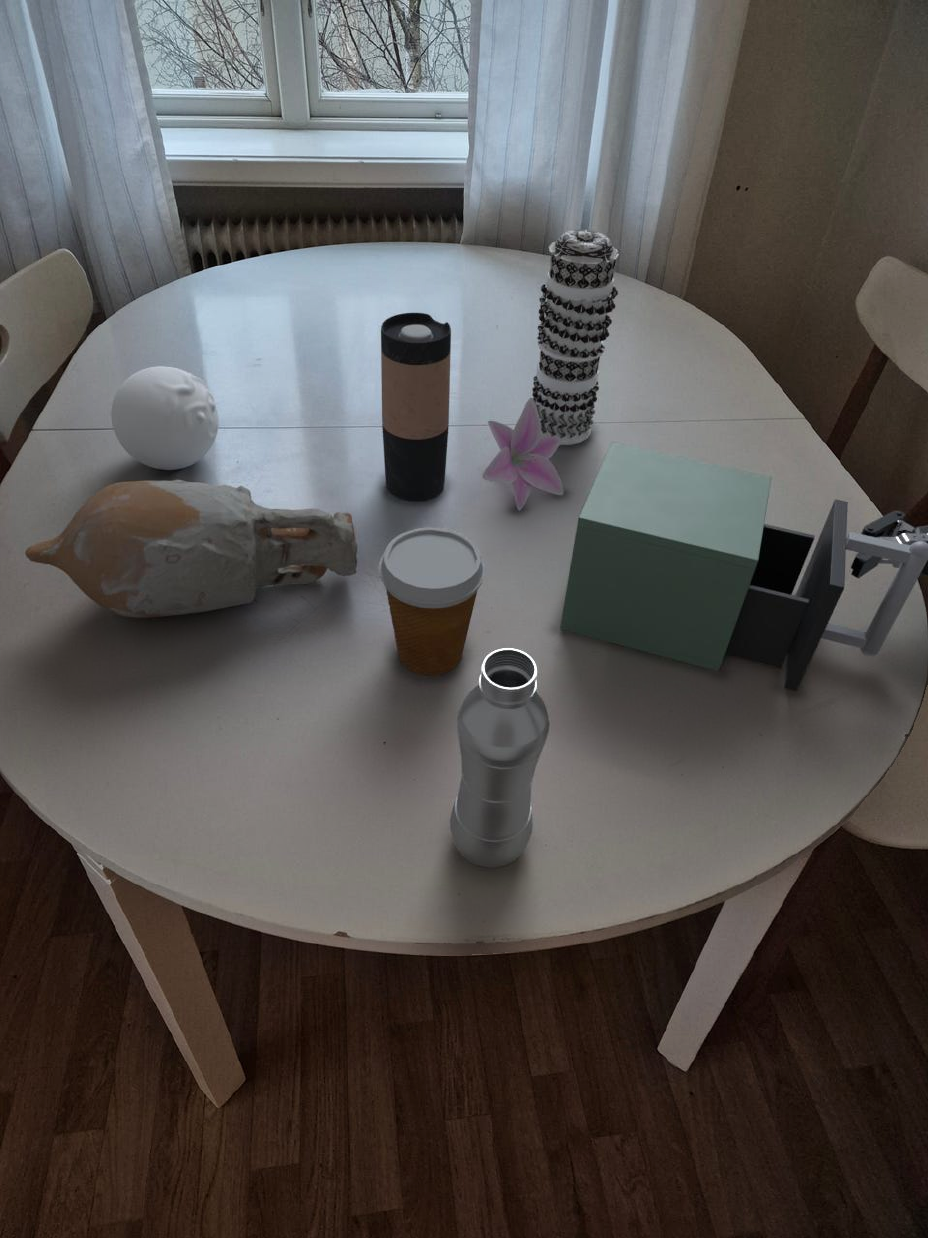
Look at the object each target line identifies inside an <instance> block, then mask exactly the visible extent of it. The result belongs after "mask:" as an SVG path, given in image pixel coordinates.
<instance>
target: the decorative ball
mask: <svg viewBox="0 0 928 1238" xmlns="http://www.w3.org/2000/svg"><path fill="white" fill-rule="evenodd" d="M110 417H111V424H112V425H111V426H112V428H113V432H114V434H115V437H116V438H117V441H118V442H119V444H120V446H121V447H122V448H123V449H124V451H125V452H126V453H127V454H128V455H129V456H131V458H133V459H134V460H136V461H137V462H139V463H141V464H142V465H145V466H147V467H149V468H153V469H157V470H163V471H174V470H180V469H185V468H187V467H190V466H192V465H194V464H196V463H197V462H199V461H200V460H201V459H203V458H204V457H205V456H206V455H207V454H208V452H209V451H210V450H211V449H212V447H213V445H214V443H215V441H216V438H217V435H218V430H219V424H220V423H219V421H220V420H219V414H218V409H217V405H216V402H215V399H214V396H213V395H212V393H211V392H210V391H209V390H208V387H207V385H206V383H205V382H204V380H203V379H201V378H200V377H198V376H195V375H194V374H193V373H190V372H189V371H186V370H183V369H181V368H179V367H178V368H177V367H173V366H164V365H159V366H150V367H146V368H143V369H140V370H138V371H136V372H134V373H133V374H131V375H129V376H128V377H127V378H126V379H125V380H124V381H123V382H122V383H121V385H120V386H119V387H118V389H117V390H116V393H115V395H114V397H113V399H112V404H111V413H110Z"/></svg>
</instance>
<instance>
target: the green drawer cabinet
mask: <svg viewBox="0 0 928 1238" xmlns="http://www.w3.org/2000/svg"><path fill="white" fill-rule="evenodd" d="M771 484H772V476H770V475H765V474H761V473H755V472H751V471H747V470H743V469H738V468H733V467H729V466H725V465H719V464H715V463H711V462H706V461H701V460H697V459H692V458H688V457H682V456H678V455H674V454H669V453H665V452H660V451H656V450H652V449H647V448H641V447H637V446H634V445H629V444H623V443H619V442H614V441H611V442H610V444H609V447H608V449H607V451H606V454H605V456H604V458H603V460H602V462H601V465H600V468H599V469H598V472H597V474H596V476H595V479H594V480H593V483H592V486H591V488H590V490H589V493H588V495H587V498H586V500H585V502H584V505H583V507H582V509H581V511H580V514H579V516H578V519H577V526H576V532H575V535H574V536H575V538H574V543H573V549H572V553H571V554H572V555H571V561H570V566H569V572H568V579H567V585H566V591H565V596H564V602H563V609H562V614H561V620H560V621H561V622H560V628H559V629H560V630H563V631H566V632H570V633H573V634H578V635H582V636H584V637H589V638H593V639H596V640H599V641H604V642H606V643H607V642H608V643H611V644H615V645H619V646H623V647H626V648H628V649H629V648H630V649H633V650H637V651H641V652H644V653H648V654H652V655H655V656H659V657H662V658H667V659H671V660H674V661H678V662H681V663H685V664H689V665H693V666H696V667H700V668H703V669H707V670H712V671H715V672H719V671H720V668H721V665H722V664H723V660H724V658H725V655H726V654H725V652H726V649H727V647H728V644H729V641H730V638H731V635H732V633H733V630H734V627H735V624H736V621H737V619H738V616H739V613H740V610H741V608H742V605H743V602H744V599H745V596H746V594H747V591H748V588H749V585H750V582H751V580H752V577H753V574H754V571H755V568H756V566H757V563H758V559H759V553H760V547H761V540H762V534H763V528H764V524H765V521H766V515H767V509H768V502H769V498H770V497H769V496H770V490H771Z"/></svg>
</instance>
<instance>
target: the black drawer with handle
mask: <svg viewBox="0 0 928 1238" xmlns="http://www.w3.org/2000/svg"><path fill="white" fill-rule="evenodd" d="M848 503H849V502H848V501H845V500H840V499H834V501H833V503H832V505H831V508H830V510H829V513H828V515H827V518H826V520H825V522H824V525H823V526H822V529H821V532H820V535H819V537H818V540H817V542H816V543H815V547H814V548H813V549H814V550H813V552H812V554H811V557H810V559H809V561H808V565H807V566H806V569H805V571H804V574H803V576H802V578H801V581H800V583H799V586H798V588H797V590H796V592H795V595H793V592H794V590H795V588H796V585H797V583H798V580H799V577H800V575H801V573H802V570H803V568H804V565H805V562H806V560H807V558H808V555H809V553H810V550H811V548H812V545H813V544H814V540H815V535H814V534H811V533H806V532H802V531H798V530H793V529H789V528H784V527H781V526H775V525H771V524H768V523H764V528H763V534H762V540H761V547H760V553H759V559H758V563H757V566H756V568H755V571H754V574H753V577H752V580H751V582H750V585H749V588H748V591H747V594H746V596H745V599H744V602H743V605H742V608H741V610H740V613H739V616H738V619H737V621H736V624H735V627H734V630H733V633H732V635H731V638H730V641H729V644H728V647H727V649H726V652H725V655H727V656H731V657H735V658H738V659H742V660H746V661H750V662H754V663H757V664H761V665H764V666H768V667H773V668H776V669H779V670H781V669H782V667H783V664H784V662H785V660H786V659H787V660H786V666H785V676H784V687H783V688H784V689H787V690H791V691H794V692H797V691H798V690H799V688H800V685H801V684H802V681H803V679H804V677H805V674H806V672H807V670H808V667H810V666H809V665H810V664H811V661H812V660H813V657H814V655H815V653H816V650H817V648H818V646H819V644H820V642H821V639H823V640H826V641H827V640H828V641H831V642H836V643H839V644H843V645H847V646H851V647H855V648H859V649H860V651H861V653H862V654H863V655H864V656H868V657H873V656H875V655H877V654H878V653H879V652H880V650H881V649H882V647H883V644H884V643H885V641H886V639H887V637H888V635H889V634H890V631H891V630H892V628H893V626H894V624H895V622H896V620H897V618H898V617H899V614H900V613H901V611H902V609H903V607H904V605H905V603H906V601H907V600H908V598H909V596H910V593H911V592H912V590H913V588H914V587H915V585H916V582H917V581H918V579H919V578H920V575H921V574H922V573H921V571H922V569H923V568H924V566H925V564H926V562H927V560H928V544H927V543H926V542H923V541H917V542H914V543H913V544H911V545H906V544H901V543H897V542H893V541H888V540H884V539H879V538H875V537H871V536H866V535H862V534H861V533H856V532H854V531H849V532H848V534H847V529H848V528H847V527H848ZM847 551H851V552H855V553H863V554H868V555H872V556H876V557H881V558H885V559H889V560H893V561H898V562H902V563H901V565H900V567H899V568H897V571H896V572H895V575H894V576H893V578H892V580H891V583H890V584H889V586H888V588H887V590H886V591H885V594H884V596H883V598H882V600H881V602H880V604H879V606H878V608H877V610H876V612H875V614H874V616H873V618H872V620H871V622H870V623H869V626H868V627H867V630H866V631H862V630H859V629H855V628H850V627H847V626H843V625H838V624H835V623H830V620H831V618H832V616H833V614H834V612H835V609H836V607H837V604H838V602H839V600H840V598H841V596H842V594H843V592H844V590H845V582H846V581H845V579H846V552H847Z"/></svg>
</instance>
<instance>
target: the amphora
mask: <svg viewBox="0 0 928 1238" xmlns="http://www.w3.org/2000/svg"><path fill="white" fill-rule="evenodd" d="M358 546H359V545H358V543H357V539H356V531H355V526H354V523H353V517H352V514H350V513H349V512H336V513H334V514H333V515H332V514H331V513H329V512H327V511H324V510H322V509H320V508H317V507H312V508H301V509H286V508H269V507H265V506H262V505H259V504H257V503H255V502H254V500H253V498H252V493H251V490H250V489H248V488H246V487H244V486H242V485H239V486H238V487H234V486H231V485H229V484H228V485H227V484H222V485H217V484H210V483H209V484H208V483H204V482H198V481H197V482H195V481H193V482H192V481H185V480H183V479H174V480H133V481H121V482H120V481H119V482H114V483H111V484H108V485H106V486H104V487H103V488H102V489H100V490H98V491H96V493H94V494H92V496H90V497H89V498H88V499H87V500H86V501H85V502H84V503H83V504H82V505H81V506H80V507H79V509H78V510H77V511H76V513H75V514H74V515H73V516H72V518H71V519H70V521H69V522H68V524H67V525H66V527H65V528H64V529H63V530H62V532H61V533H60V534H59V535H57V536H56V537H54V538H51V539H49V540H45V541H41V542H38V543H34V544H32V545H30V546H28V547H27V548H26V549H25V557H26V558H27V559H28V560H29V561H30V562H33V563H37V564H43V565H49V566H51V567H55V568H57V569H59V570H61V571H62V572H64V573H65V574H66V575H67V576H68V577H69V579H70V580H71V581H72V582H73V583H74V584H75V585H76V586H77V587H78V588H79V590H81V591H82V593H83V594H84V595H86V596H87V597H88V598H89V599H90V600H92V601H93V602H94V603H95V604H97V605H98V606H99V607H101V608H102V609H104V610H106V611H108V612H109V613H111V614H114V615H118V616H121V617H125V618H136V619H137V618H139V619H140V618H142V619H143V618H158V617H159V618H160V617H169V616H180V615H189V614H195V613H196V614H197V613H203V612H209V611H215V610H221V609H227V608H230V607H237V606H241V605H246V604H250V603H252V602H254V599H255V598H256V597H255V596H256V592H257V589H258V588H263V587H267V586H268V587H269V586H279V585H280V586H281V585H296V584H299V585H300V584H301V585H302V584H303V585H308V584H310V583H316V582H317V581H319V580H321V578H322V577H323V576H324V575H325V574H326V572H327V570H329V571H330V572H333V573H335V574H336V575H337V576H341V577H350V576H352V575H356V573H357V567H358V566H357V565H358V557H357V554H358Z"/></svg>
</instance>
